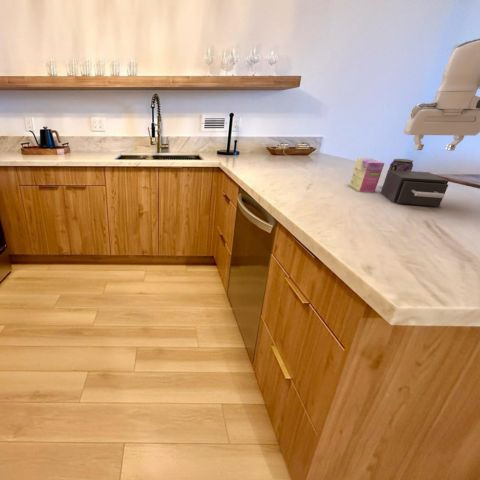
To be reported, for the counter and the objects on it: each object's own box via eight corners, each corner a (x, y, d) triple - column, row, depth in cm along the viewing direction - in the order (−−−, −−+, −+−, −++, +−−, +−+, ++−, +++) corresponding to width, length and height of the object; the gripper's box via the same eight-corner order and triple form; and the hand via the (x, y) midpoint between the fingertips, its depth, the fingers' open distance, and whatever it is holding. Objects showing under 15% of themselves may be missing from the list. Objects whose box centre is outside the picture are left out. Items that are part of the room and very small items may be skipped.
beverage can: (387, 191, 115) (397, 161, 110) (379, 187, 122) (388, 158, 117) (407, 192, 114) (418, 161, 109) (398, 188, 120) (408, 158, 115)
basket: (446, 211, 90) (456, 188, 87) (403, 207, 94) (411, 185, 91) (422, 196, 106) (429, 176, 103) (385, 193, 110) (392, 174, 107)
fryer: (437, 207, 97) (448, 180, 93) (392, 203, 101) (401, 177, 97) (419, 196, 109) (428, 172, 105) (380, 193, 113) (388, 169, 109)
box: (375, 193, 113) (384, 162, 108) (359, 192, 114) (368, 162, 109) (363, 186, 122) (372, 158, 117) (349, 186, 123) (356, 158, 118)
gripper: (422, 102, 85) (405, 150, 91) (498, 102, 83) (476, 151, 89) (407, 103, 91) (392, 148, 96) (478, 103, 89) (459, 149, 94)
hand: (433, 150), depth 93 cm, fingers open, 8 cm apart
